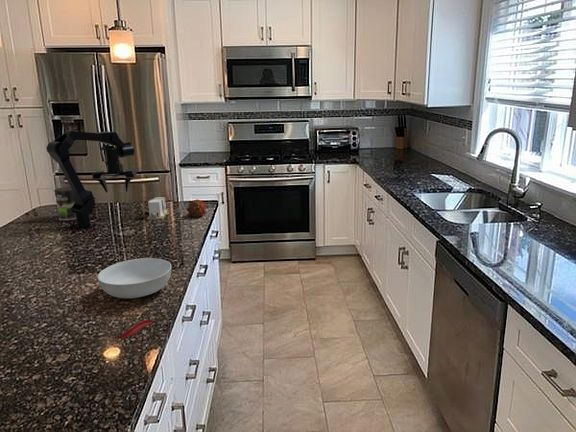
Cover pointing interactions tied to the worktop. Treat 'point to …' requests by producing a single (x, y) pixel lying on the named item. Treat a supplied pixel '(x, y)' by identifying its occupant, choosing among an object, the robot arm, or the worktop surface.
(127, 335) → the cayenne pepper
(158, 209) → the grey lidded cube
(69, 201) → the grey green cylinder
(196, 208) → the dragon fruit
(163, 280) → the serving bowl
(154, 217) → the rail
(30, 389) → the worktop surface
